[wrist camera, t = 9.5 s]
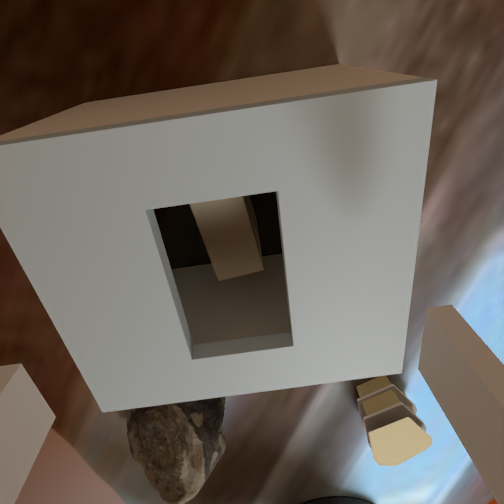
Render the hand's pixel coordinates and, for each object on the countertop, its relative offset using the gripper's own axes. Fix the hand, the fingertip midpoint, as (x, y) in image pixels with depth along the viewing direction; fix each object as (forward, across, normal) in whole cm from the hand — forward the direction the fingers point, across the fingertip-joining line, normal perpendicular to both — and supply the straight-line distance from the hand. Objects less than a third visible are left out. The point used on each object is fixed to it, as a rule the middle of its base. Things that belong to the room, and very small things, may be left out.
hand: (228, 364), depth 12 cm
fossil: (+17, +9, +23) cm, 30 cm away
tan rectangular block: (+16, 0, 0) cm, 16 cm away
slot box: (+16, 0, 0) cm, 16 cm away
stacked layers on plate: (+17, -12, +25) cm, 33 cm away
